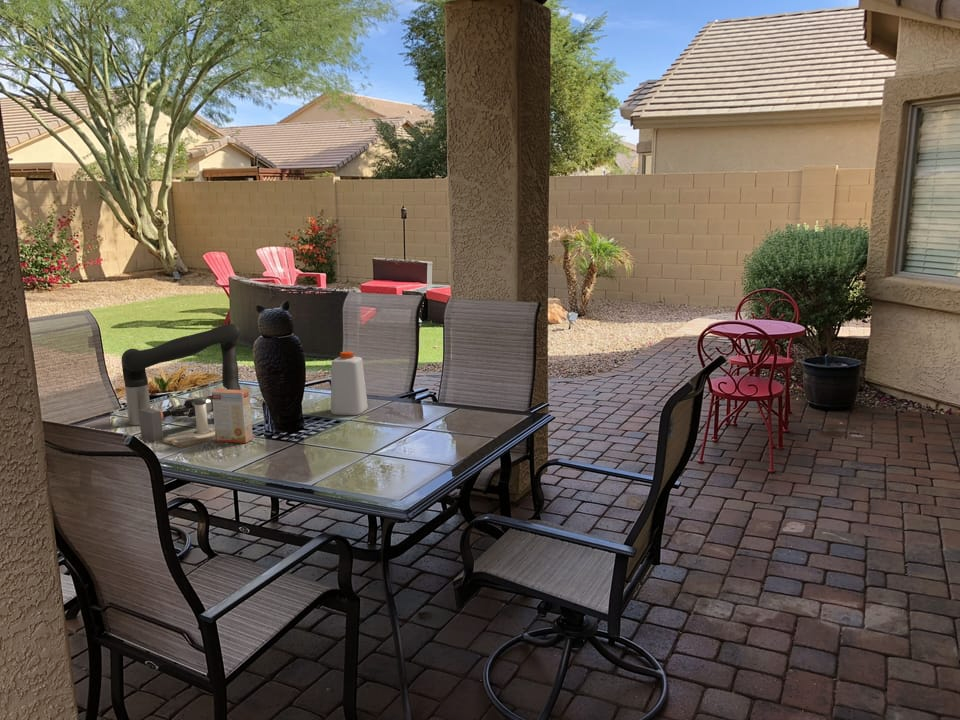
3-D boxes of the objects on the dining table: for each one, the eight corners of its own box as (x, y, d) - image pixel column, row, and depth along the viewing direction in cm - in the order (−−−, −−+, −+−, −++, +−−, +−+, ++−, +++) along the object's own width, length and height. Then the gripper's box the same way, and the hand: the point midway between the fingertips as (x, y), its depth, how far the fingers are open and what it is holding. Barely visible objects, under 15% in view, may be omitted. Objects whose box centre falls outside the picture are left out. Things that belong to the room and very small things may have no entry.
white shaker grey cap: (194, 431, 313) (191, 399, 310) (204, 429, 317) (201, 396, 314) (200, 433, 310) (197, 400, 308) (210, 430, 314) (207, 398, 311)
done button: (154, 420, 312) (152, 410, 311) (158, 419, 313) (157, 409, 313) (159, 422, 309) (158, 411, 308) (163, 421, 311) (162, 410, 310)
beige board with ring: (162, 441, 305) (162, 437, 305) (206, 430, 321) (206, 426, 320) (181, 447, 297) (181, 443, 296) (225, 435, 312) (225, 432, 312)
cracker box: (253, 439, 306) (250, 389, 302) (245, 444, 300) (241, 393, 297) (224, 437, 310) (219, 388, 306) (215, 441, 304) (210, 391, 300)
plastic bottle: (360, 416, 340) (357, 355, 335) (328, 415, 342) (324, 355, 337) (370, 408, 355) (367, 349, 349) (339, 407, 357) (336, 349, 352)
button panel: (141, 437, 311) (138, 409, 309) (151, 435, 315) (148, 407, 312) (154, 441, 305) (151, 413, 303) (164, 439, 309) (161, 411, 306)
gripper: (188, 396, 328) (151, 404, 315) (205, 400, 320) (168, 408, 307) (190, 412, 330) (152, 421, 316) (207, 417, 322) (169, 426, 308)
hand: (160, 415), depth 312 cm, fingers closed
